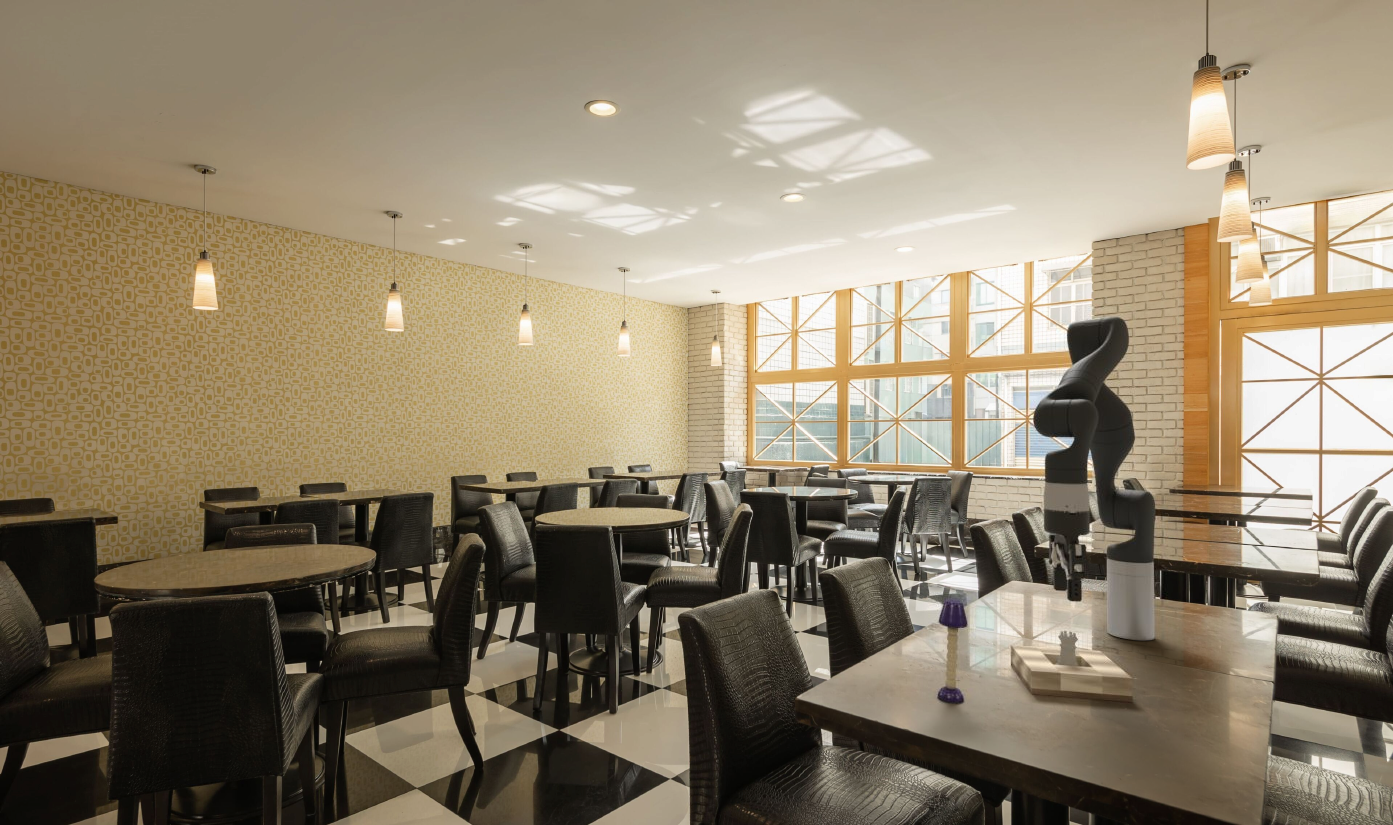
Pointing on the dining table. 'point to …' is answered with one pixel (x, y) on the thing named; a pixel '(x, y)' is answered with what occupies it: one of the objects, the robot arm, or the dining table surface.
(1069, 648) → the rook chess piece
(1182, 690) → the dining table surface
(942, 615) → the toy lamp
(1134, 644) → the dining table surface
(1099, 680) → the socket block
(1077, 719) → the dining table surface
